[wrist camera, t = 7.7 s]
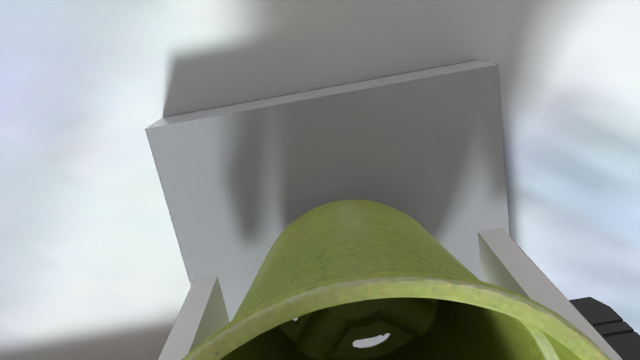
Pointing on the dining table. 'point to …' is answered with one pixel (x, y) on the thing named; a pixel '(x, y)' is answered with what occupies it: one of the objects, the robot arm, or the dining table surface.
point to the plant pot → (382, 299)
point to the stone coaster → (335, 167)
